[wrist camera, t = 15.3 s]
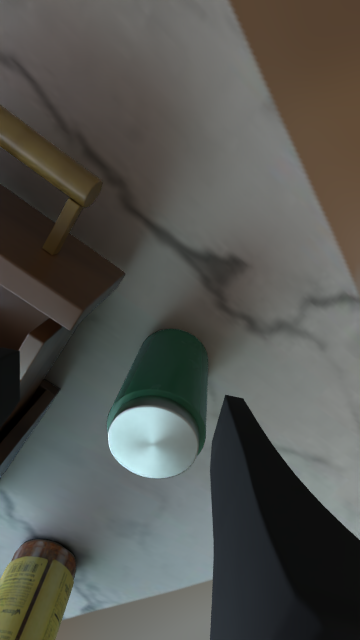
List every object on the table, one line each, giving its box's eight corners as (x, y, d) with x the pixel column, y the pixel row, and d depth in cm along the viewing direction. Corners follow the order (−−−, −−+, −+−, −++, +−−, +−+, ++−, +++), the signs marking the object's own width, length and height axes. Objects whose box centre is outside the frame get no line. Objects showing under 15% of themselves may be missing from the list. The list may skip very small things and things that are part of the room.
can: (150, 318, 21) (116, 384, 14) (219, 343, 21) (221, 422, 14) (130, 376, 23) (90, 464, 15) (193, 399, 23) (184, 496, 16)
